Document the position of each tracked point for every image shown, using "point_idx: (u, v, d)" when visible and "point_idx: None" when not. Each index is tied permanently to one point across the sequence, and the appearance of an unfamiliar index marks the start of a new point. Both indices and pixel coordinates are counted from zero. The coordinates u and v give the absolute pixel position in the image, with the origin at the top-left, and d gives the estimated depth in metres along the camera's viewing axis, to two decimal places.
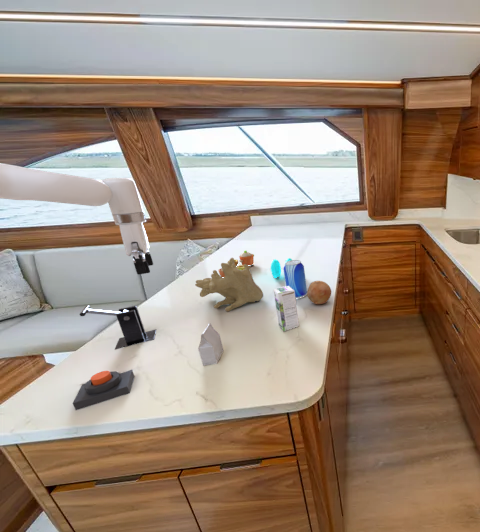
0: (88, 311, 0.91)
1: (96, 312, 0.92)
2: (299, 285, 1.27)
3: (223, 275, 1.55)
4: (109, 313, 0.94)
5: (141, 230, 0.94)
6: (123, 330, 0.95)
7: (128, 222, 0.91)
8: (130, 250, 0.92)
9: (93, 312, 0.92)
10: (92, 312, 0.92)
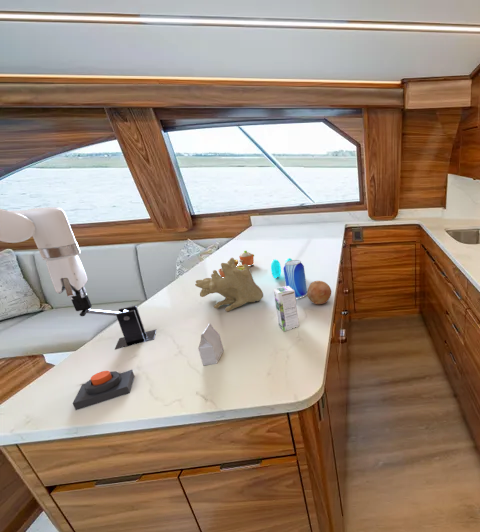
0: (88, 311, 0.91)
1: (96, 312, 0.92)
2: (299, 285, 1.27)
3: (223, 275, 1.55)
4: (109, 313, 0.94)
5: (73, 264, 0.85)
6: (123, 330, 0.95)
7: (56, 257, 0.82)
8: (59, 287, 0.83)
9: (93, 312, 0.92)
10: (92, 312, 0.92)
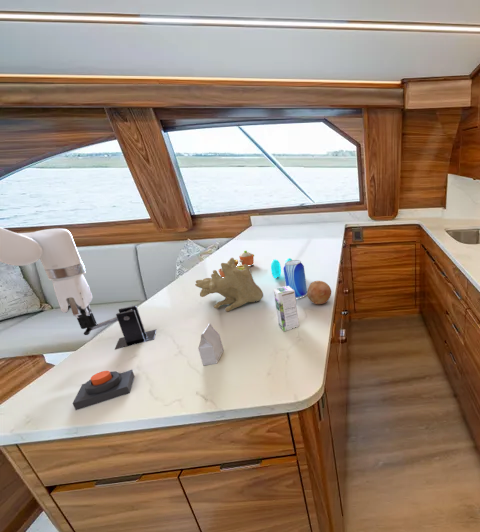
0: (91, 328, 0.92)
1: (99, 326, 0.93)
2: (299, 285, 1.27)
3: (223, 275, 1.55)
4: (110, 321, 0.94)
5: (79, 284, 0.87)
6: (123, 330, 0.95)
7: (62, 277, 0.84)
8: (66, 307, 0.85)
9: (96, 327, 0.93)
10: (95, 327, 0.93)
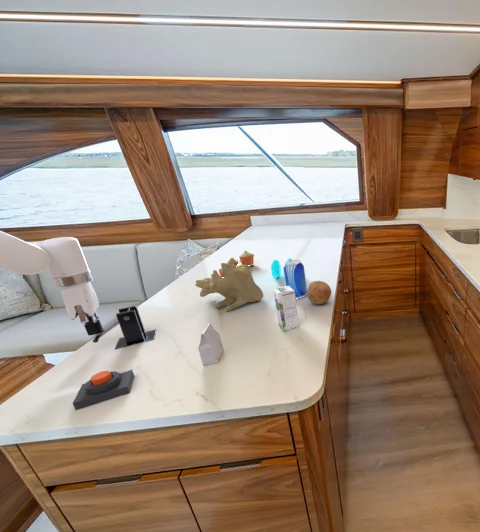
0: (99, 335, 0.94)
1: (105, 331, 0.94)
2: (299, 285, 1.27)
3: (223, 275, 1.55)
4: (114, 324, 0.95)
5: (86, 291, 0.88)
6: (123, 330, 0.95)
7: (70, 285, 0.85)
8: (73, 314, 0.86)
9: (103, 333, 0.94)
10: (103, 333, 0.94)
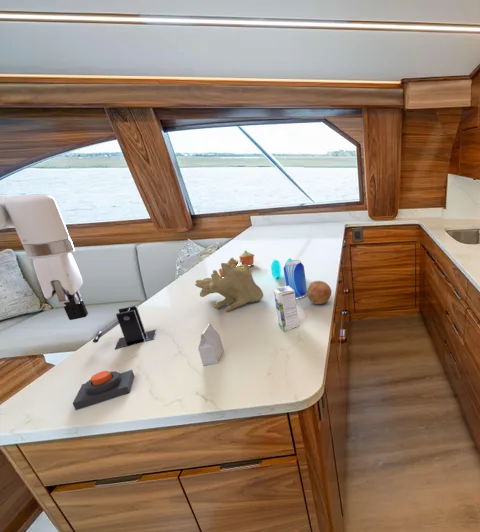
0: (99, 335, 0.94)
1: (105, 331, 0.94)
2: (299, 285, 1.27)
3: (223, 275, 1.55)
4: (114, 324, 0.95)
5: (66, 264, 0.70)
6: (123, 330, 0.95)
7: (45, 254, 0.67)
8: (49, 292, 0.68)
9: (103, 333, 0.94)
10: (103, 333, 0.94)
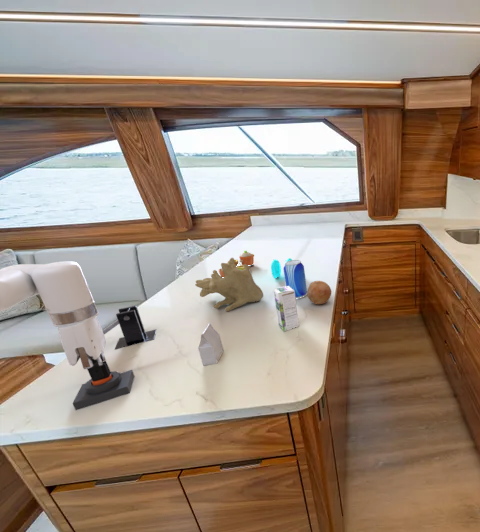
0: None
1: (105, 331, 0.94)
2: (299, 285, 1.27)
3: (223, 275, 1.55)
4: (114, 324, 0.95)
5: (90, 329, 0.70)
6: (123, 330, 0.95)
7: (70, 322, 0.67)
8: (74, 359, 0.68)
9: None
10: None
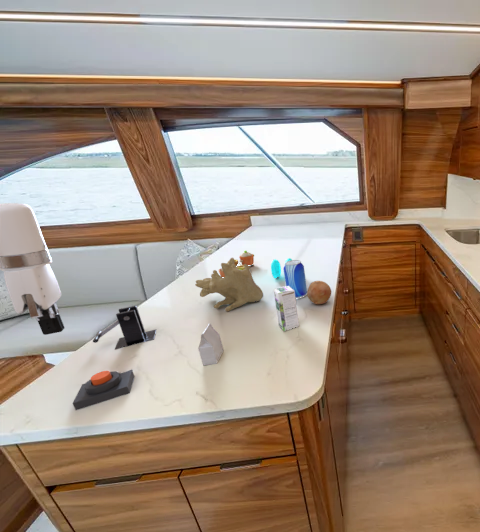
0: (99, 335, 0.94)
1: (105, 331, 0.94)
2: (299, 285, 1.27)
3: (223, 275, 1.55)
4: (114, 324, 0.95)
5: (40, 276, 0.66)
6: (123, 330, 0.95)
7: (18, 267, 0.64)
8: (20, 306, 0.64)
9: (103, 333, 0.94)
10: (103, 333, 0.94)
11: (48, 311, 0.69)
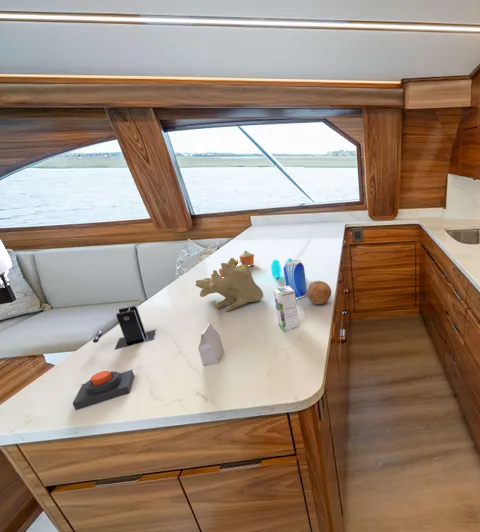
0: (99, 335, 0.94)
1: (105, 331, 0.94)
2: (299, 285, 1.27)
3: (223, 275, 1.55)
4: (114, 324, 0.95)
5: None
6: (123, 330, 0.95)
7: None
8: None
9: (103, 333, 0.94)
10: (103, 333, 0.94)
11: None
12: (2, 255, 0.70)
